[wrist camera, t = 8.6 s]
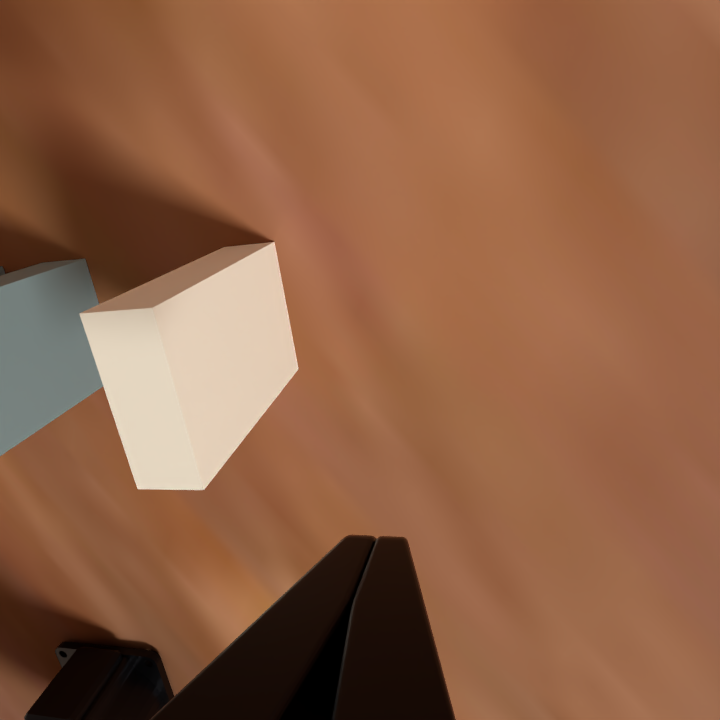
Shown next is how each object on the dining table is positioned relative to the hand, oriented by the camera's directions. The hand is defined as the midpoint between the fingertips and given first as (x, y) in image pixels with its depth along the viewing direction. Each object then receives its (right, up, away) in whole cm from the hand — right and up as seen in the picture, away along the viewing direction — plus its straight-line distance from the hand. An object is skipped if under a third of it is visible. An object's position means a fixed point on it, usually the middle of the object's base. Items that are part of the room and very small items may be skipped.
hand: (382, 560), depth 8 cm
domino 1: (-12, +4, +15) cm, 20 cm away
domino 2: (-4, +5, +13) cm, 15 cm away
